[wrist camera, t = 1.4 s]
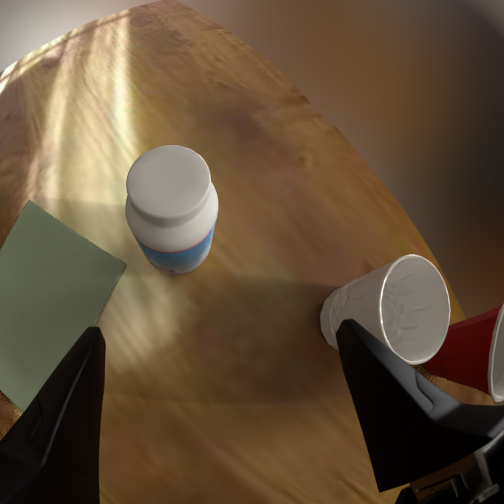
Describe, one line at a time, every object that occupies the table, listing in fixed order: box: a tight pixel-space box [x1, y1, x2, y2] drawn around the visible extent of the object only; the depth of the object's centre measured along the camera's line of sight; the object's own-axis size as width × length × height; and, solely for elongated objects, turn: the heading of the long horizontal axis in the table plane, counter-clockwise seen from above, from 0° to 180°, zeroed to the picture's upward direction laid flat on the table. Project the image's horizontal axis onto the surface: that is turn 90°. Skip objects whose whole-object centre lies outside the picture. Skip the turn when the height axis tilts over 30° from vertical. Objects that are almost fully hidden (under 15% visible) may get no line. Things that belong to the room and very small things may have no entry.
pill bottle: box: [125, 145, 218, 275], centre depth 19 cm, size 6×6×11 cm
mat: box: [0, 200, 126, 412], centre depth 19 cm, size 19×14×1 cm
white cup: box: [320, 255, 450, 365], centre depth 21 cm, size 8×8×10 cm
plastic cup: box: [424, 303, 504, 402], centre depth 21 cm, size 11×11×12 cm
